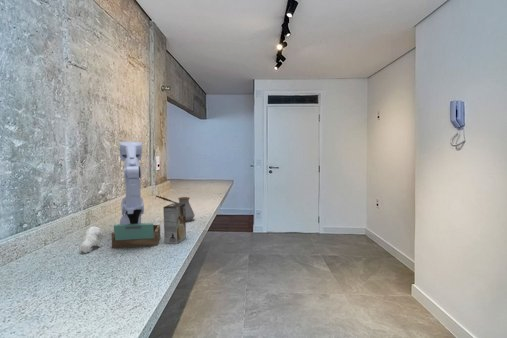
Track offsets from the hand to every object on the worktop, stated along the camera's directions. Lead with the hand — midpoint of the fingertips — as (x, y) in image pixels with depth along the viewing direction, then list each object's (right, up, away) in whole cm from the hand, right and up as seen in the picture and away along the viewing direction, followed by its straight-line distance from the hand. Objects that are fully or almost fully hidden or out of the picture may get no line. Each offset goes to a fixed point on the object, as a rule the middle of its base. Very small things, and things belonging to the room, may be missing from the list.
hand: (134, 227), depth 131 cm
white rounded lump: (-17, -9, -2) cm, 19 cm away
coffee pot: (+6, -5, +47) cm, 47 cm away
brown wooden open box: (-1, -8, +7) cm, 10 cm away
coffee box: (+15, -8, +9) cm, 19 cm away
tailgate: (0, -5, +1) cm, 5 cm away
